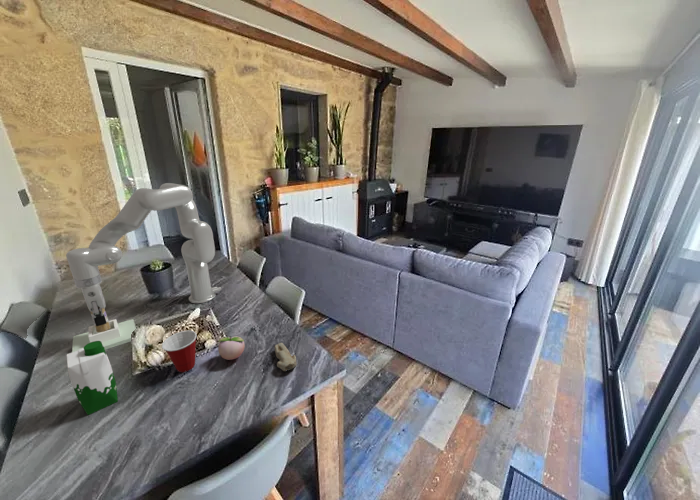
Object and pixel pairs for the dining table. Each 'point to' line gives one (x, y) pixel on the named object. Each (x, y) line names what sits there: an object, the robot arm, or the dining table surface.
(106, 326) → the sprinkles bottle
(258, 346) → the dining table surface
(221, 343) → the decorative fruit
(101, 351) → the milk carton
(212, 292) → the robot arm
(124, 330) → the chute mount
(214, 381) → the dining table surface
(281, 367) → the sculpture
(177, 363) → the plastic cup
